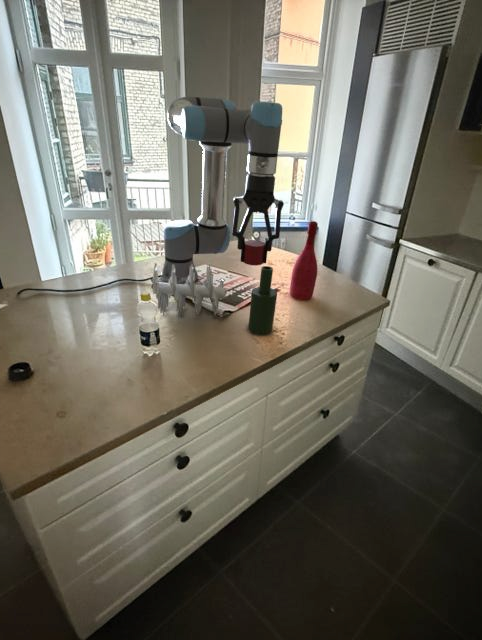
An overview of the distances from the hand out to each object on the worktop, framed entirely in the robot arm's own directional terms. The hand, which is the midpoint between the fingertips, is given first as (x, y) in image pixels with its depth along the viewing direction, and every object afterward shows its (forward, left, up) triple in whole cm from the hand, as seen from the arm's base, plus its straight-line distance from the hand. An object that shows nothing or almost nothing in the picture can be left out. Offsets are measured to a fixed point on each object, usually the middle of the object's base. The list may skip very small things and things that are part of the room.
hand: (253, 260), depth 109 cm
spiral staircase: (-20, +15, -26) cm, 36 cm away
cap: (0, 0, 0) cm, 0 cm away
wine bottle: (+24, +34, -26) cm, 49 cm away
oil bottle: (+5, +5, -26) cm, 27 cm away
